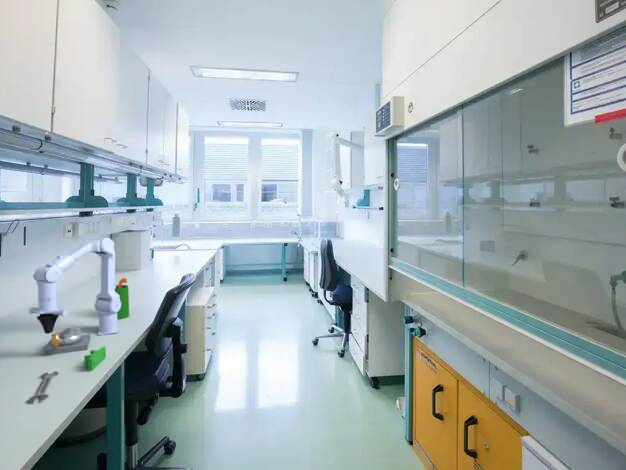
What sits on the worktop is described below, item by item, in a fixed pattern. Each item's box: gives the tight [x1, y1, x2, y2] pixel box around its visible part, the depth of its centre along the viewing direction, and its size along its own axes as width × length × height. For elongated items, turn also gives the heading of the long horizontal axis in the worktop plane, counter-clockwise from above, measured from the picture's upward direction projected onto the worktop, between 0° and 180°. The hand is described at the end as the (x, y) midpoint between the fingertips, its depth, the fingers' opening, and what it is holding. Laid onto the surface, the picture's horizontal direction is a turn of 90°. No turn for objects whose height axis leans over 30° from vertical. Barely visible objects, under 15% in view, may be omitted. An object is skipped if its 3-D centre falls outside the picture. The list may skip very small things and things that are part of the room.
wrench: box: [28, 370, 59, 405], centre depth 112 cm, size 5×2×20 cm
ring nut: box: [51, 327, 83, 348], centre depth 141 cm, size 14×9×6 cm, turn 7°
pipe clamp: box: [84, 346, 107, 372], centre depth 129 cm, size 11×4×5 cm, turn 8°
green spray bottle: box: [115, 277, 130, 320], centre depth 184 cm, size 10×9×20 cm
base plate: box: [43, 333, 91, 357], centre depth 144 cm, size 13×14×2 cm
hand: (48, 332), depth 135 cm, fingers closed
